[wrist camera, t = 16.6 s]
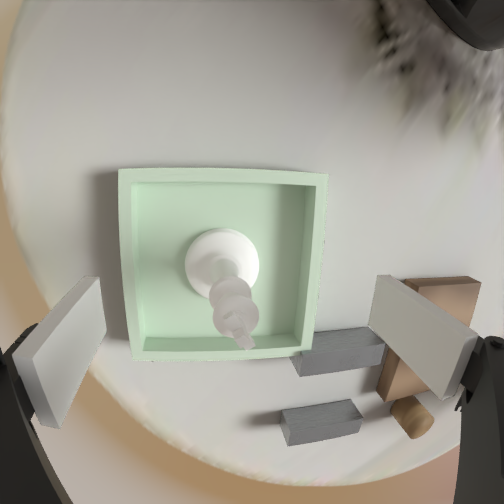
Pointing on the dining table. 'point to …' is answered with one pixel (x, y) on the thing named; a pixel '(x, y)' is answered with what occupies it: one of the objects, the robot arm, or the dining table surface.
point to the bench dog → (412, 416)
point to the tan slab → (447, 298)
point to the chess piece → (226, 280)
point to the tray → (200, 221)
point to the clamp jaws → (328, 361)
